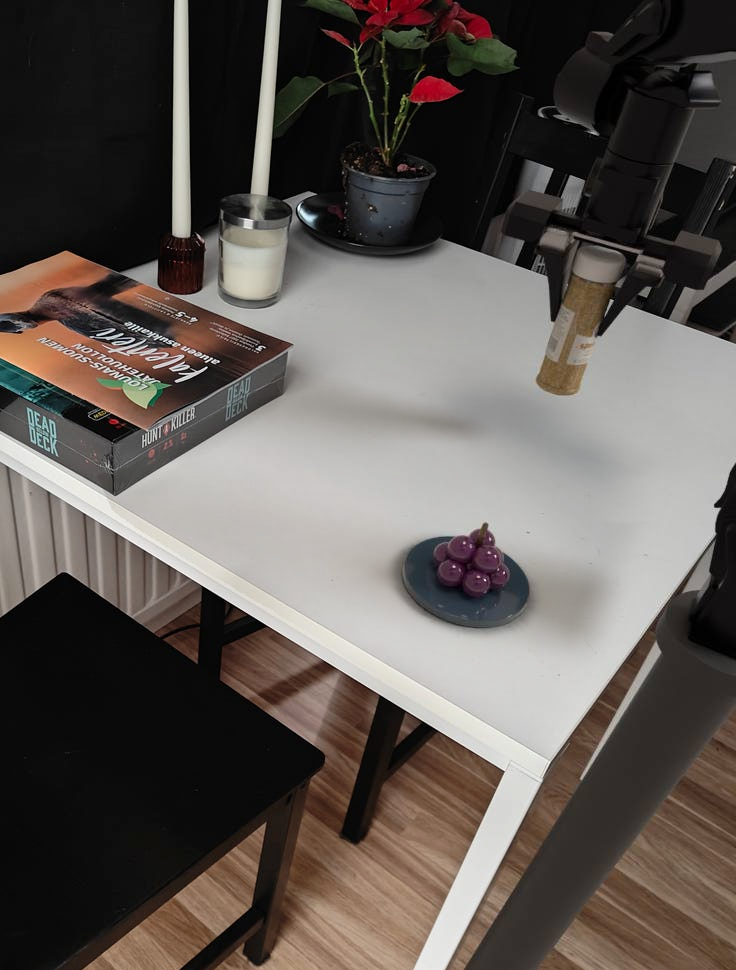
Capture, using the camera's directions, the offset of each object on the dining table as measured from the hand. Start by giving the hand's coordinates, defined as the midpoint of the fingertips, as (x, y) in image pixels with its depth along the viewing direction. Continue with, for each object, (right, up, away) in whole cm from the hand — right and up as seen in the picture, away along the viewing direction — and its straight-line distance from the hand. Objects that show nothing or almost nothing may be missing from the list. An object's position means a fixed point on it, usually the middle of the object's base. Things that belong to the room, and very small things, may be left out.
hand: (576, 327), depth 87 cm
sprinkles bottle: (-1, -5, +4) cm, 7 cm away
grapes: (-13, -26, -9) cm, 30 cm away
